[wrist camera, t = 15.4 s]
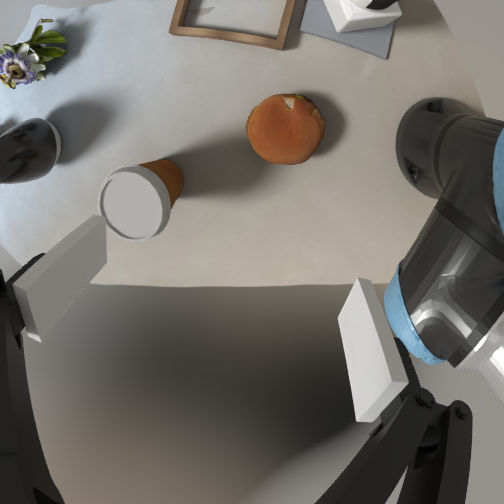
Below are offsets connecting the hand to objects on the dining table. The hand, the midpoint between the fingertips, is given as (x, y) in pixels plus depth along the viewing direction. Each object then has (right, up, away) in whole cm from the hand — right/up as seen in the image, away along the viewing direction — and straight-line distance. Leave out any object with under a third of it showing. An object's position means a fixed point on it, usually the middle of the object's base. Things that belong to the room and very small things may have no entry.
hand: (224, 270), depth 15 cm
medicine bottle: (+15, +33, +13) cm, 38 cm away
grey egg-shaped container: (-33, +19, +26) cm, 46 cm away
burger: (+6, +18, +23) cm, 30 cm away
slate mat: (+15, +33, +14) cm, 39 cm away
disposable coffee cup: (-12, +12, +28) cm, 32 cm away
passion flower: (-34, +34, +18) cm, 51 cm away
